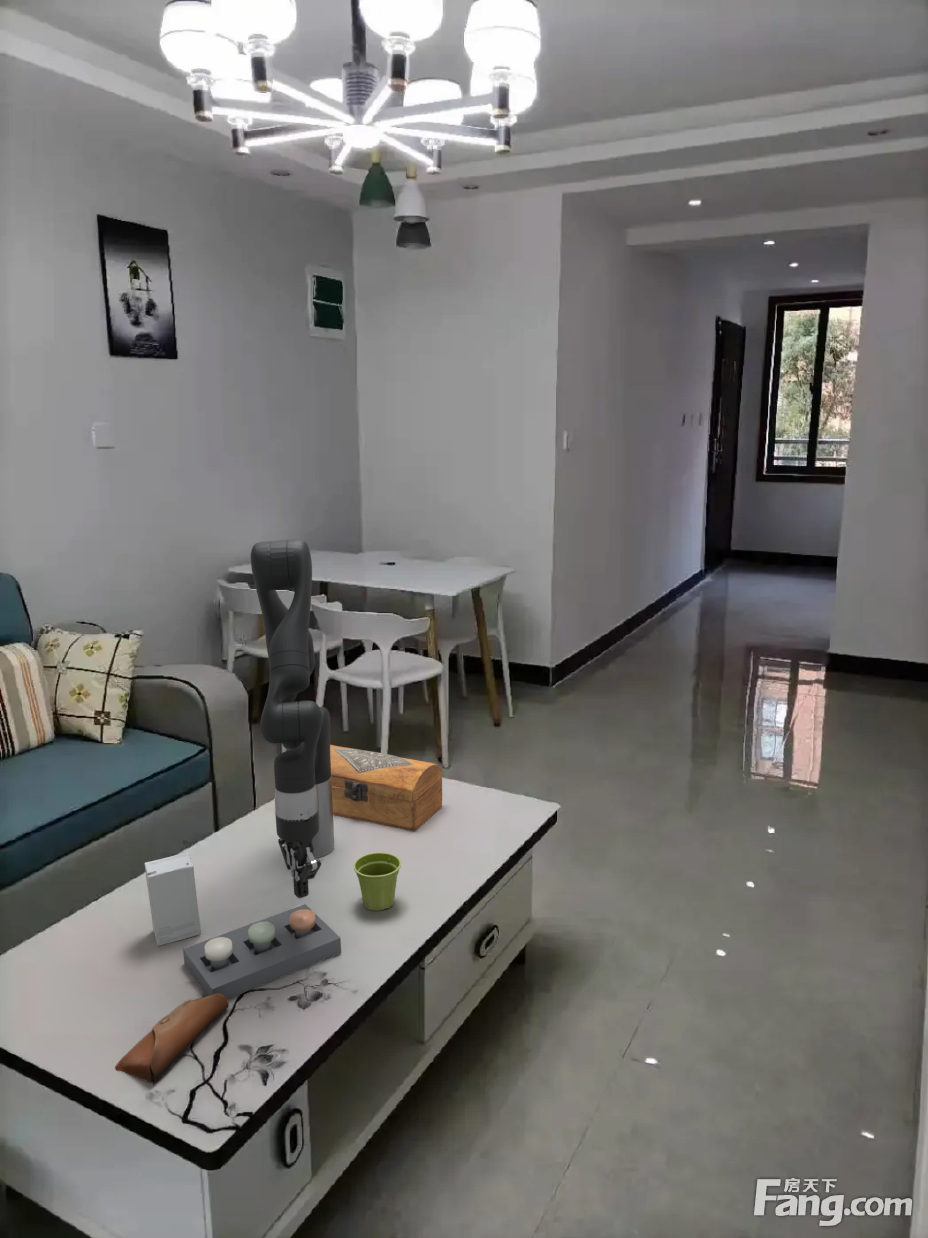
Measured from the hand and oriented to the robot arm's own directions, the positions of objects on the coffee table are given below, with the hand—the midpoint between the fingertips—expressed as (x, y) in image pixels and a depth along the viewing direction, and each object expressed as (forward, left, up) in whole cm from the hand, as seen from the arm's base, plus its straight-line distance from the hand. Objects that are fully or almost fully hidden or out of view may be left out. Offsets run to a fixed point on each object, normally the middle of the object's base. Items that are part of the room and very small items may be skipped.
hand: (301, 895), depth 162 cm
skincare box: (-17, -18, -10) cm, 27 cm away
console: (0, -8, -10) cm, 13 cm away
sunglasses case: (+11, -28, -10) cm, 32 cm away
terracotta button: (0, 0, -9) cm, 9 cm away
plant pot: (-3, +18, -10) cm, 21 cm away
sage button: (0, -8, -8) cm, 11 cm away
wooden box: (-40, +39, -10) cm, 57 cm away
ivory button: (0, -16, -8) cm, 18 cm away
